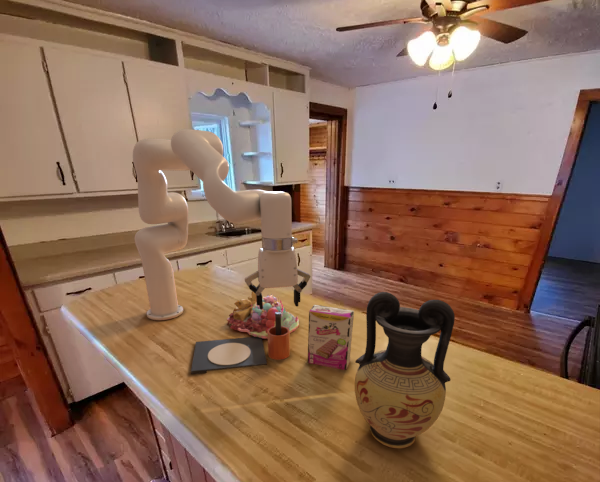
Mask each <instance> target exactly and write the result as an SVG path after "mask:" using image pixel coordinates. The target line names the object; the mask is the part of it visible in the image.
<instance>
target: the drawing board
mask: <svg viewBox="0 0 600 482" xmlns="http://www.w3.org/2000/svg"><path fill="white" fill-rule="evenodd" d="M267 365H268V361H267V357H266V351H265V346H264V342H263V338H260V337H255V336H248V337H236V338H225V339H223V338H222V339H213V340H200V341H195V344H194V351H193V357H192V363H191V369H190V375H197V374H206V373H207V372H211V371H212V372H213V371H221V370H229V369H230V370H231V369H239V368H240V369H241V368H249V367H261V366H267Z"/></svg>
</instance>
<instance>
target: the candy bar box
mask: <svg viewBox="0 0 600 482" xmlns="http://www.w3.org/2000/svg"><path fill="white" fill-rule="evenodd" d="M354 317H355V310H352V309H346V308H339V307H332V306H326V305H320V304H313V306H312V307H311V308H309V311H308V334H307V336H308V337H307V363H308V364H311V365H317V366H322V367H327V368H331V369H332V368H333V369H339V370H343V371H346V370H347V369H348V367H349V365H350V362H351V352H352V351H351V350H352V340H353V339H352V338H353V327H354Z"/></svg>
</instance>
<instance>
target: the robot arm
mask: <svg viewBox="0 0 600 482" xmlns="http://www.w3.org/2000/svg"><path fill="white" fill-rule="evenodd" d="M132 162H133V167H134V171H135V174H136V179H137V201H138V203H137V204H138V214H139V217H140V220H141V221H142V222H143V223H145V224H147V225H151V226H146V227H143V228H140V229H138V230H137V232H136V233H135V235H134V244H135V247H136V249H137V252H138V255H139V259H140V261H141V266H142V271H143V276H144V281H145V282H144V283H145V286H146V287H145V288H146V292H147V297H148V303H149V304H148V305H149V308H148V310H147V311H146V317H147V318H148V319H149V320H152V321H153V320H154V321H165V320H171V319H176V318H177V317H179V316H181V315H182V314H183V313H184V307H183V306H182V305H180V304H179V303H178V296H177V295H178V294H177V289H176V288H177V287H176V281H175V275H174V268H173V265H172V263H171V261H170V260H169V259H168V258H167V257H166V255H165V254H168V253H172V252H176V251H180V250H183V249H185V247H186V245H187V244H188V240H189V239H188V237H189V218H190V217H189V214H190V213H189V211H190V210H189V205H188V203H187V200H186V199H185V197H184V196H183V195H182V194H181V193H178V192H175V191H172V192H171V191H168V180H167V177H166V176H165V173H164V171H165V172H166V171H167V172H168V171H172V172H174V171H179V172H180V171H185V172H186V171H191V172H192V173H193V174H194V175H195V176H196V177H197V178H198V179H199V180H200V181H202V183H203V184H202V188H203V193H204V196H205V198H206V200H207V203H208V204H209V205H210V207H211V208H212V209H213V210H214V211H215V212H216V213H217V214H218V215H220V216H221V217H222V218H223V219H224V220H226V221H227V222H229V223H230V224H237V225H239V224H245V223H250V222H255V221H260V228H261V229H260V231H261V247H260V248H259V249H258V255H257V271H255V272H252V273H251V274H249V275H247V276H246V277H245V278H244V282H245V284H246V286H247V287H248V289H249V290H250V291H251V292H252V291H253V292H254V293H255V294H256V300H257V305H259V307H260V309H263V302H262V297H263V294H262V293H263V291H264V290H265V289H277V288H291V287H292V288H293V304H294V306H295V307H297V308H298V307H299V303H301V293H302V292H303V290H304V289H305V288H306V287H307V285H308V283H309V281H310V279H311V274H309V273H308V272H305V271H303V270H301V269H299V268H298V264H297V263H298V262H297V254H296V250H295V247H294V245H295V244H298V238H297V237H293V232H292V231H293V230H292V229H293V228H292V227H293V225H292V224H293V223H292V220H293V219H292V218H293V217H292V212H293V211H292V197H291V195H290V194H289V192H285V191H268V190H263V189H246V190H245V189H244V190H234V189H232V187H230V186H229V185H228V184H226V183H225V182H224V181H225V180H226V179H227V176H228V175H229V171H230V164H229V161H228V160H227V159H226V157H224V145H223V142H222V140H221V139H220V137H219V136H218V135H217V134H216V133H214V132H212V131H208V130H203V129H202V130H201V129H193V128H192V129H191V128H184V129H179V130H177V131H176V132H174V133H173V135H172V137H171V139H169V138H157V137H156V138H155V137H153V138H152V137H149V138H143V139H139V140H138V141H137V142H136V143H135V144H134V146H133V149H132ZM299 277H302V280H301V281H300V282H299V281H298V279H299ZM256 279H257V280H258V284H257V286H256V285H254V284H253V281H254V280H256ZM298 282H299V283H298Z"/></svg>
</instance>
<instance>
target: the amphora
mask: <svg viewBox="0 0 600 482" xmlns="http://www.w3.org/2000/svg"><path fill="white" fill-rule="evenodd" d="M365 314H366V318H365V319H366V320H365V321H366V345H365V351H364V354H362V355H360V356H359V357H358V358H357V359H356V360H355V362H354V364H355V363H356V364H358V365H359V366H358V368H357V370H356V374H355V377H354V395H355V400H356V403H357V406H358V409H359V412H360V413H361V415H362V417H363V419H364V420H365V421H366V422H367V424H368V425H369V431H370V433H371V435H372V437H373V438H374V439H375V440H376V441H377V442H379V443H380V444H382V445H384V446H385V447H389V448H393V449H405V448H409V447H410V446H412V445H413V444H414V443H415V441H416V437H417V436H419V435H421V434H423V433H424V432H426V431H427V430H429V429H430V428H431V427H432V426H433V425H434V424H435V423H436V421H437V420H438V418H439V416H440V415H441V413H442V411H443V409H444V406H445V401H446V396H447V395H446V394H447V388H446V383H449V382H451V377H450V376H449V375H448V373H447V372H446V371H445V370H444V368H445V367H444V366H445V360H446V356H447V352H448V349H449V345H450V342H451V338H452V334H453V329H454V327H455V321H456V316H455V312H454V309H452V306H451V305H450V304H448V303H447V302H445V301H443V300H440V299H428V300H427V301H425V302H423V303H422V304H421V305H420V307H419V308H418V309H417V308H412V307H405V306H401V304H400V301H399V299H398V298H397V297H396V296H395V295H394V294H392V293H391V292H388V291H381V292H377V293H375V294H373V296H372V297H371V298H370V299H369V300H368V303H367V306H366V313H365ZM377 324H378V325H379V326H380V327H382V330H383V333H384V335H385V336H386V337H387V338H388V342H387V346H386V349H382V350H379V351H376V343H377ZM439 332H440V333H439ZM437 333H439V339H438V342H437V346H436V350H435V354H434V358H433V362H432V361H430V360H429V359H427V358H426V357H425V356H422V347H423V344H425V343H427V342H428V340H429V339H430V338H431V336H432V335H435V334H437Z"/></svg>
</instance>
